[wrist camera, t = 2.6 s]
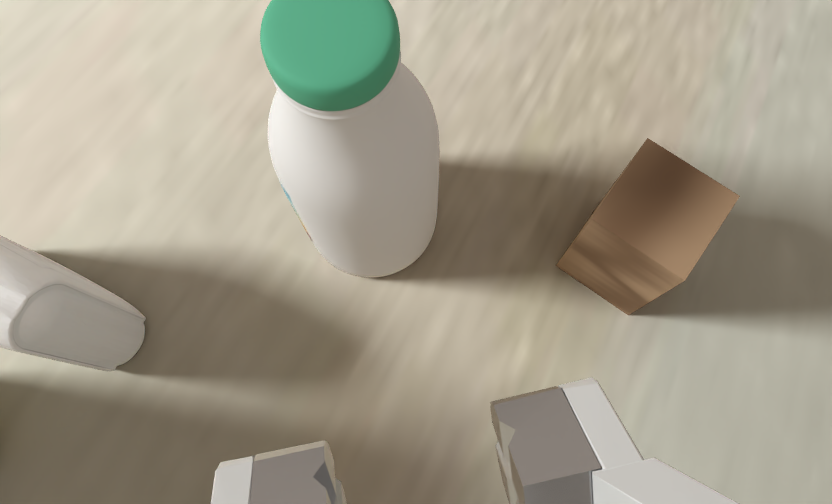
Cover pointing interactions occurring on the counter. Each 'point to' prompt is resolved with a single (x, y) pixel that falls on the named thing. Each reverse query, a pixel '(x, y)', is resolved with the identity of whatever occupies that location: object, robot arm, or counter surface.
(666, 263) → the walnut block
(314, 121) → the milk bottle
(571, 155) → the counter surface
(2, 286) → the photo printer
